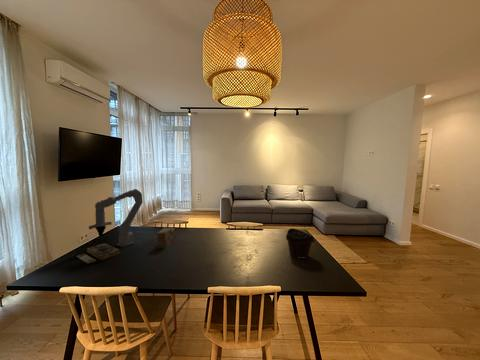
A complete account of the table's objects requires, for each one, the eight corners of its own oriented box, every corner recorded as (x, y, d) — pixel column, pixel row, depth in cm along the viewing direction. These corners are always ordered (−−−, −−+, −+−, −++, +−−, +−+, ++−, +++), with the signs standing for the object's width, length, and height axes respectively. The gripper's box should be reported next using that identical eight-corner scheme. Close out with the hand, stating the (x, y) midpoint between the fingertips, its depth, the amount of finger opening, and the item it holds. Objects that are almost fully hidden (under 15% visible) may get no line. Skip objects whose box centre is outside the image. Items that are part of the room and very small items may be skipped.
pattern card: (84, 254, 148) (84, 253, 148) (96, 260, 139) (96, 260, 139) (76, 256, 144) (76, 256, 144) (87, 263, 135) (87, 263, 135)
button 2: (104, 247, 153) (104, 243, 153) (108, 249, 151) (107, 245, 151) (98, 249, 150) (98, 245, 149) (101, 251, 147) (101, 247, 147)
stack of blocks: (168, 238, 182) (168, 224, 181) (175, 238, 182) (175, 224, 181) (157, 248, 161) (157, 232, 160) (165, 248, 161) (165, 233, 160)
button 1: (100, 248, 157) (100, 244, 157) (103, 249, 155) (103, 245, 154) (93, 250, 153) (93, 246, 153) (96, 251, 151) (96, 247, 151)
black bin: (315, 262, 144) (316, 236, 143) (285, 259, 148) (286, 234, 147) (312, 252, 161) (313, 228, 160) (285, 249, 165) (286, 226, 164)
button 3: (109, 252, 150) (109, 248, 150) (112, 254, 148) (112, 250, 147) (102, 254, 146) (102, 250, 146) (106, 256, 144) (106, 252, 144)
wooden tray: (105, 247, 161) (105, 243, 161) (119, 253, 150) (119, 249, 150) (87, 252, 151) (87, 248, 151) (101, 260, 140) (100, 255, 140)
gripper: (91, 221, 148) (92, 240, 149) (113, 217, 160) (113, 234, 161) (87, 219, 152) (87, 238, 153) (108, 215, 164) (109, 232, 165)
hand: (100, 236), depth 157 cm, fingers closed
